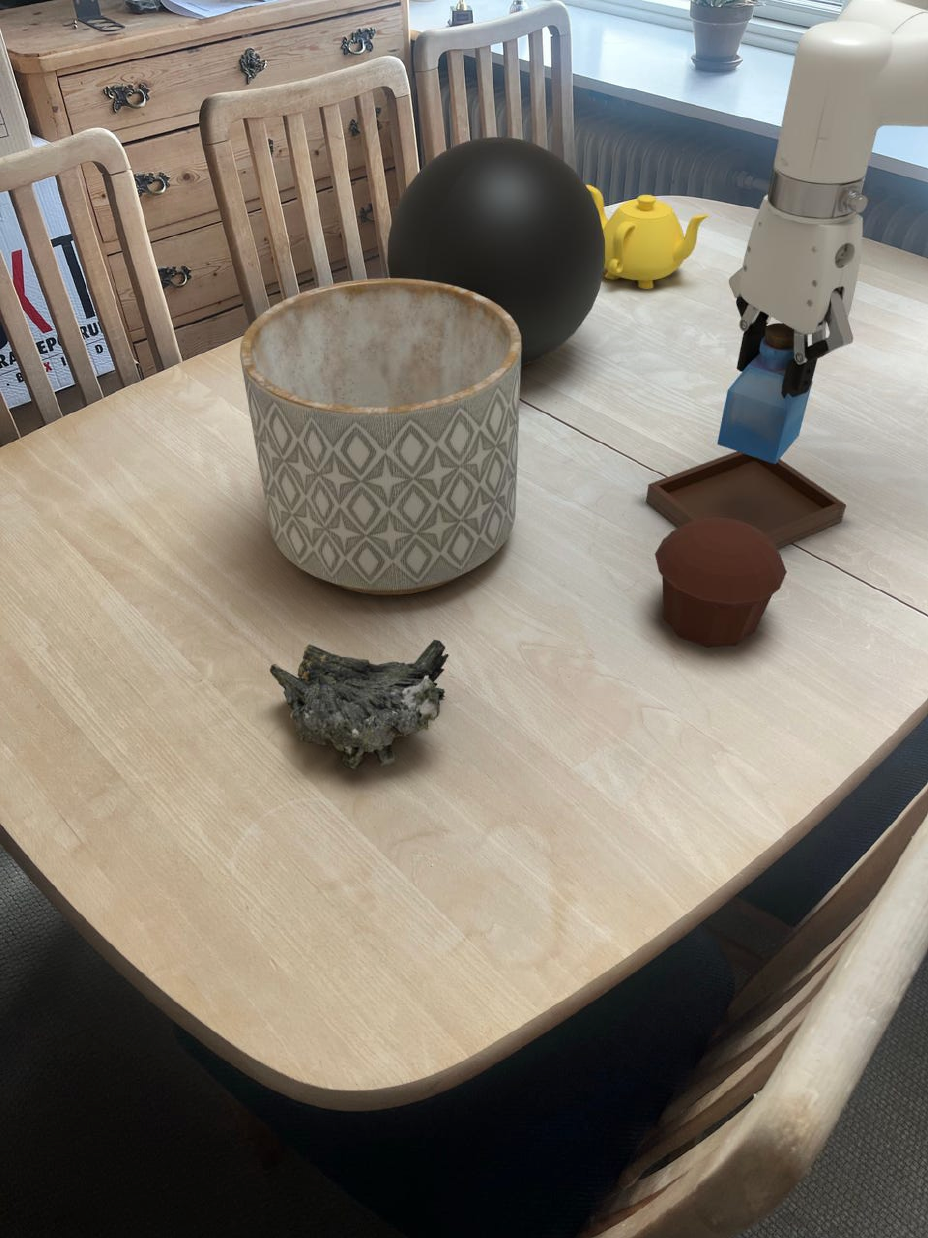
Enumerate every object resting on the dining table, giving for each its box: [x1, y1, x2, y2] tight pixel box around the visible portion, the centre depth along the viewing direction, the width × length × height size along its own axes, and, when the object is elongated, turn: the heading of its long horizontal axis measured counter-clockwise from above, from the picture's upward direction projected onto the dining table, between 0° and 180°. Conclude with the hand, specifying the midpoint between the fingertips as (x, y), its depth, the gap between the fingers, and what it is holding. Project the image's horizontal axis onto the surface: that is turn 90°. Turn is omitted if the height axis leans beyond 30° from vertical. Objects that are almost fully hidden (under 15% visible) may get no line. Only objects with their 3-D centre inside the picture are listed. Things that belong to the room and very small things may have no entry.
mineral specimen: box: [269, 639, 450, 770], centre depth 85 cm, size 15×13×10 cm
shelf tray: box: [645, 451, 847, 550], centre depth 108 cm, size 16×14×2 cm
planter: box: [239, 277, 522, 596], centre depth 99 cm, size 26×26×22 cm
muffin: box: [654, 517, 788, 648], centre depth 94 cm, size 12×11×10 cm
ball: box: [386, 136, 605, 367], centre depth 125 cm, size 27×27×27 cm
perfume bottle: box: [716, 322, 813, 464], centre depth 99 cm, size 6×6×12 cm
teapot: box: [585, 184, 710, 290], centre depth 148 cm, size 20×15×12 cm
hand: (772, 379), depth 98 cm, fingers closed on perfume bottle, 5 cm apart
